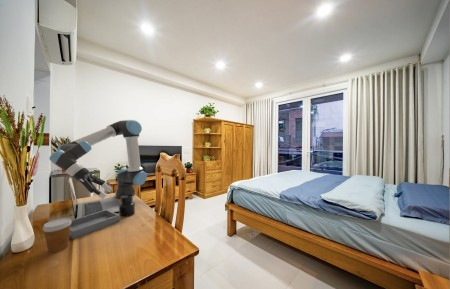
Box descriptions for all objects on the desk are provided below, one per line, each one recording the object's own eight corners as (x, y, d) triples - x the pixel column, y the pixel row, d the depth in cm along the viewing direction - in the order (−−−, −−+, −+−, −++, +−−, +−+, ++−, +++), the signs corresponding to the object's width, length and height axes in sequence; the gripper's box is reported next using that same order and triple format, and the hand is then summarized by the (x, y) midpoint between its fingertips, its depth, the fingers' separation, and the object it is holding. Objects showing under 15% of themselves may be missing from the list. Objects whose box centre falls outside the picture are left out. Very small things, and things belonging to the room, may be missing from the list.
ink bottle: (138, 211, 118) (137, 194, 118) (129, 217, 110) (129, 198, 109) (124, 211, 119) (124, 193, 119) (115, 216, 110) (114, 198, 110)
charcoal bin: (107, 215, 112) (106, 209, 112) (119, 221, 104) (119, 215, 104) (61, 230, 94) (61, 223, 94) (72, 239, 85) (72, 231, 85)
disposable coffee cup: (37, 253, 76) (36, 225, 75) (63, 240, 85) (62, 216, 84) (52, 257, 73) (51, 228, 72) (77, 244, 82) (76, 218, 81)
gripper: (81, 172, 115) (108, 192, 121) (61, 181, 92) (96, 205, 98) (91, 164, 117) (117, 184, 123) (73, 170, 94) (107, 195, 99)
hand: (108, 193), depth 110 cm, fingers open, 13 cm apart
